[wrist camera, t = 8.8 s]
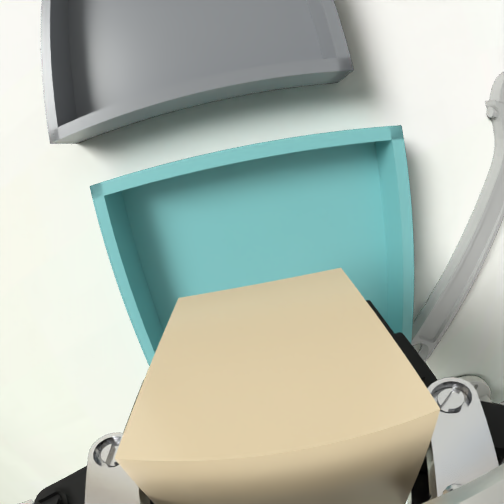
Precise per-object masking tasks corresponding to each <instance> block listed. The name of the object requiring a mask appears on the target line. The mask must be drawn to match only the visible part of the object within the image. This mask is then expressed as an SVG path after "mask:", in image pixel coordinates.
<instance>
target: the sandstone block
mask: <svg viewBox="0 0 504 504" xmlns="http://www.w3.org/2000/svg"><path fill="white" fill-rule="evenodd" d="M439 412H440V407H439V406H438V404H437V403H436V401H435V400H434V398H433V397H432V395H431V394H430V392H429V390H428V389H427V387H426V386H425V384H424V383H423V381H422V380H421V378H420V377H419V375H418V374H417V372H416V371H415V369H414V368H413V366H412V365H411V364H410V362H409V361H408V359H407V358H406V356H405V355H404V353H403V352H402V350H401V349H400V348H399V346H398V345H397V343H396V342H395V340H394V339H393V338H392V336H391V335H390V333H389V332H388V330H387V329H386V328H385V326H384V325H383V323H382V322H381V321H380V319H379V318H378V317H377V315H376V314H375V312H374V311H373V310H372V308H371V307H370V306H369V304H368V303H367V302H366V300H365V299H364V297H363V296H362V295H361V293H360V292H359V291H358V289H357V288H356V287H355V285H354V284H353V283H352V281H351V280H350V279H349V277H348V276H347V275H346V274H345V272H344V271H343V270H342V268H337V269H332V270H327V271H322V272H317V273H312V274H307V275H302V276H297V277H292V278H286V279H281V280H276V281H271V282H265V283H260V284H255V285H249V286H244V287H238V288H233V289H227V290H221V291H216V292H210V293H204V294H198V295H193V296H187V297H181V298H178V300H177V303H176V305H175V307H174V310H173V312H172V314H171V317H170V319H169V321H168V324H167V326H166V328H165V331H164V333H163V335H162V338H161V340H160V342H159V345H158V347H157V350H156V352H155V354H154V357H153V359H152V362H151V364H150V367H149V369H148V372H147V374H146V377H145V379H144V382H143V384H142V387H141V389H140V392H139V394H138V397H137V399H136V402H135V405H134V407H133V410H132V412H131V415H130V418H129V420H128V423H127V426H126V428H125V431H124V434H123V436H122V439H121V442H120V444H119V447H118V450H117V453H116V456H115V460H116V461H117V462H118V463H119V465H120V466H121V467H122V468H123V469H124V471H125V472H126V473H127V474H128V475H129V477H130V478H131V479H132V480H133V481H134V482H135V483H136V484H137V486H138V487H139V488H140V489H141V490H142V491H143V492H144V493H145V494H146V495H147V496H148V497H149V499H150V500H151V501H152V502H153V503H154V504H405V503H406V501H407V499H408V497H409V494H410V492H411V490H412V488H413V485H414V483H415V481H416V478H417V476H418V473H419V471H420V468H421V466H422V463H423V461H424V458H425V455H426V452H427V450H428V447H429V444H430V441H431V438H432V435H433V432H434V429H435V426H436V422H437V419H438V416H439Z"/></svg>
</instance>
